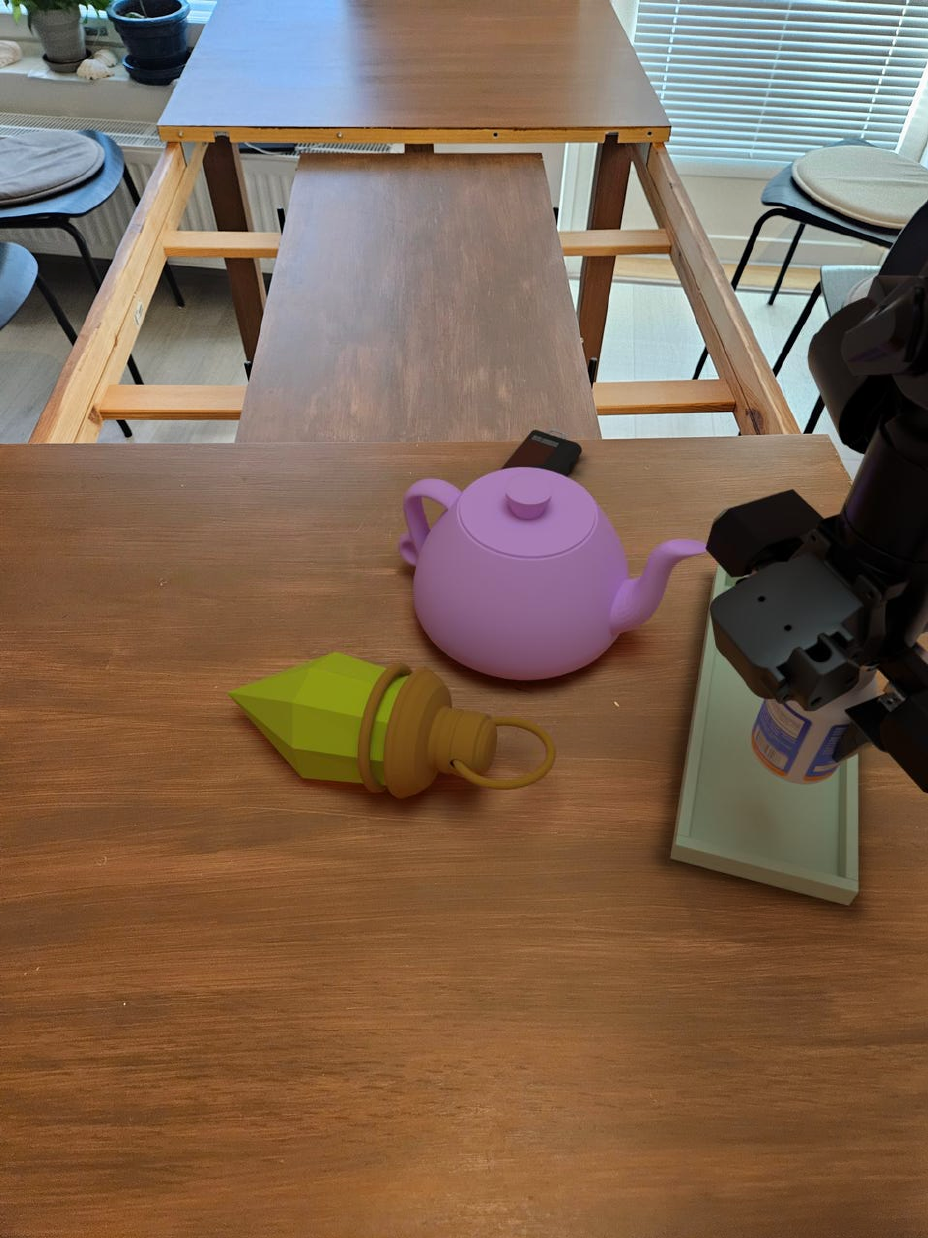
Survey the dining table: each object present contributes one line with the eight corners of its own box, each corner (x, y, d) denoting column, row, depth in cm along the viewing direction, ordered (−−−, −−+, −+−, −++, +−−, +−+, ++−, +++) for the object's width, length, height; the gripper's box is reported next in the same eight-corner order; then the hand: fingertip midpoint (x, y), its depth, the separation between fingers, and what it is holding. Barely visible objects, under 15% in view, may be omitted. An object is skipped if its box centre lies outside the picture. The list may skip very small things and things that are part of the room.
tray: (848, 906, 58) (858, 892, 57) (670, 858, 60) (675, 844, 59) (850, 609, 76) (858, 593, 74) (712, 580, 78) (717, 564, 76)
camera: (590, 443, 87) (542, 509, 81) (585, 464, 89) (538, 531, 83) (532, 419, 89) (480, 483, 82) (529, 441, 91) (478, 505, 85)
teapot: (349, 638, 73) (332, 512, 63) (445, 511, 84) (444, 385, 74) (640, 751, 66) (674, 628, 56) (705, 596, 77) (743, 469, 67)
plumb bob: (203, 779, 65) (534, 860, 57) (176, 678, 60) (536, 753, 52) (266, 704, 72) (569, 768, 64) (248, 609, 67) (573, 667, 59)
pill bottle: (838, 724, 56) (895, 620, 49) (839, 797, 52) (901, 696, 45) (750, 705, 57) (793, 600, 49) (745, 775, 53) (790, 674, 46)
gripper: (649, 447, 44) (608, 650, 56) (916, 732, 33) (796, 913, 44) (829, 397, 47) (755, 599, 59) (1131, 642, 36) (966, 833, 47)
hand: (808, 720), depth 52 cm, fingers closed on pill bottle, 5 cm apart
